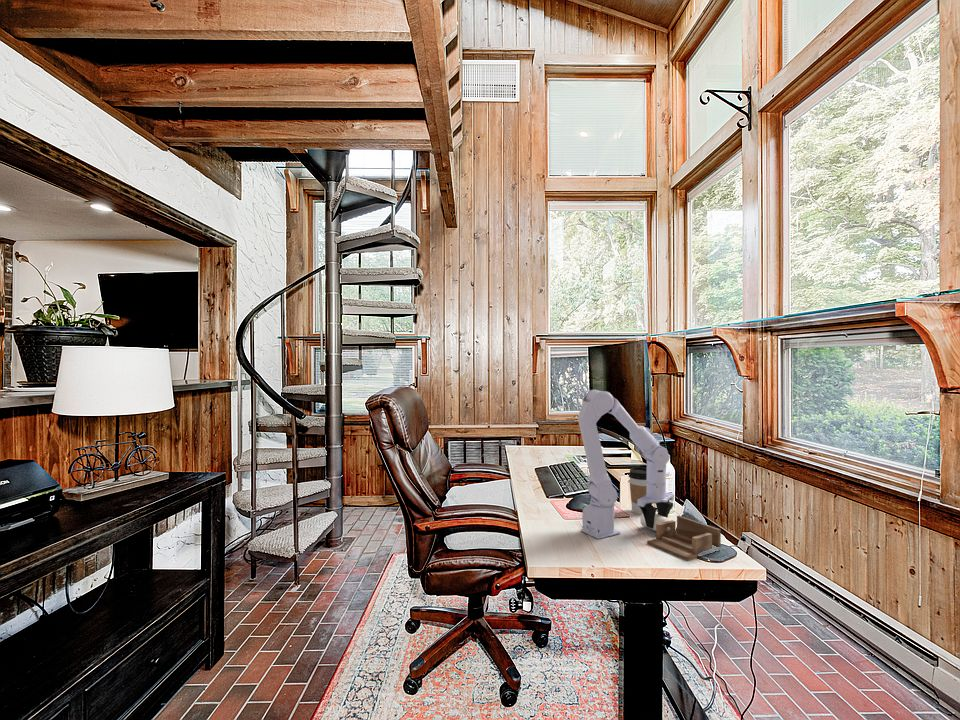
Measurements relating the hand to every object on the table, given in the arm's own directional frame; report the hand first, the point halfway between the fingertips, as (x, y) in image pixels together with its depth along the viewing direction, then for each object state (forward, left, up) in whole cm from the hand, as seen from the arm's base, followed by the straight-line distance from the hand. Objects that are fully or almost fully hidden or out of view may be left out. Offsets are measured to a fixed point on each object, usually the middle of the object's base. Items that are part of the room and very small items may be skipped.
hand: (655, 525), depth 149 cm
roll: (0, 0, +1) cm, 1 cm away
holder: (-4, -13, -1) cm, 14 cm away
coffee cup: (+10, +15, -2) cm, 18 cm away
